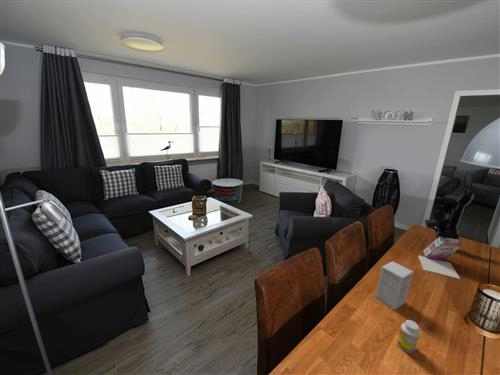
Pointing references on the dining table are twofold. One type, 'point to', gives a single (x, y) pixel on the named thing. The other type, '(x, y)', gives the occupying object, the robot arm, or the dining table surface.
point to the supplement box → (393, 284)
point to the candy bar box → (442, 248)
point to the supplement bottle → (408, 336)
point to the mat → (438, 267)
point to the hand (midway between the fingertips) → (437, 241)
